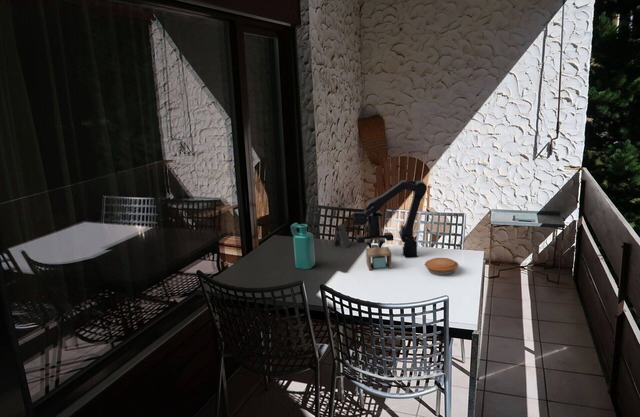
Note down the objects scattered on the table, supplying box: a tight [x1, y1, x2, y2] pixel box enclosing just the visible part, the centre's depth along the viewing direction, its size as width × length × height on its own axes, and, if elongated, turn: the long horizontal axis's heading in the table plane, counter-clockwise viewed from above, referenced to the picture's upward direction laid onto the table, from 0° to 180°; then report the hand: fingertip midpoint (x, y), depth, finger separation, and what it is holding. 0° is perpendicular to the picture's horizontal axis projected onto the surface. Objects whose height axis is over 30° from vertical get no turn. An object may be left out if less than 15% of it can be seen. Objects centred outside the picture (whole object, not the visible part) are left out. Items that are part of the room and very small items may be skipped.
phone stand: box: [331, 223, 352, 249], centre depth 289 cm, size 9×6×12 cm, turn 55°
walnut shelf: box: [365, 246, 393, 271], centre depth 255 cm, size 11×10×8 cm
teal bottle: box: [289, 222, 316, 270], centre depth 260 cm, size 10×8×22 cm
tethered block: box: [371, 244, 387, 269], centre depth 261 cm, size 6×18×6 cm, turn 1°
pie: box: [423, 257, 459, 276], centre depth 244 cm, size 16×16×5 cm
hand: (375, 253), depth 268 cm, fingers closed on tethered block, 3 cm apart
